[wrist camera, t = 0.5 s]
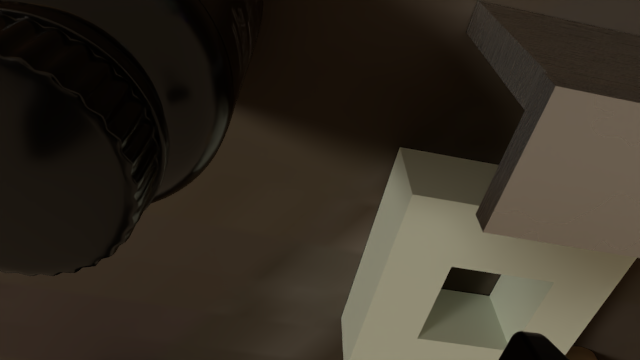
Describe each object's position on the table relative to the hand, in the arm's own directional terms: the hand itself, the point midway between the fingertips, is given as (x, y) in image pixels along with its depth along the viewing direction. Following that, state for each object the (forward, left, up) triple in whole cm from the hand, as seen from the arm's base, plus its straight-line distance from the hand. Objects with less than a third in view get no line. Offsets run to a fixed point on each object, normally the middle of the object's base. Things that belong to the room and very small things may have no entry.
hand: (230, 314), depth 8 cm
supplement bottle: (0, +4, -14) cm, 15 cm away
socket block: (-10, -11, -14) cm, 20 cm away
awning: (0, -11, -14) cm, 18 cm away
